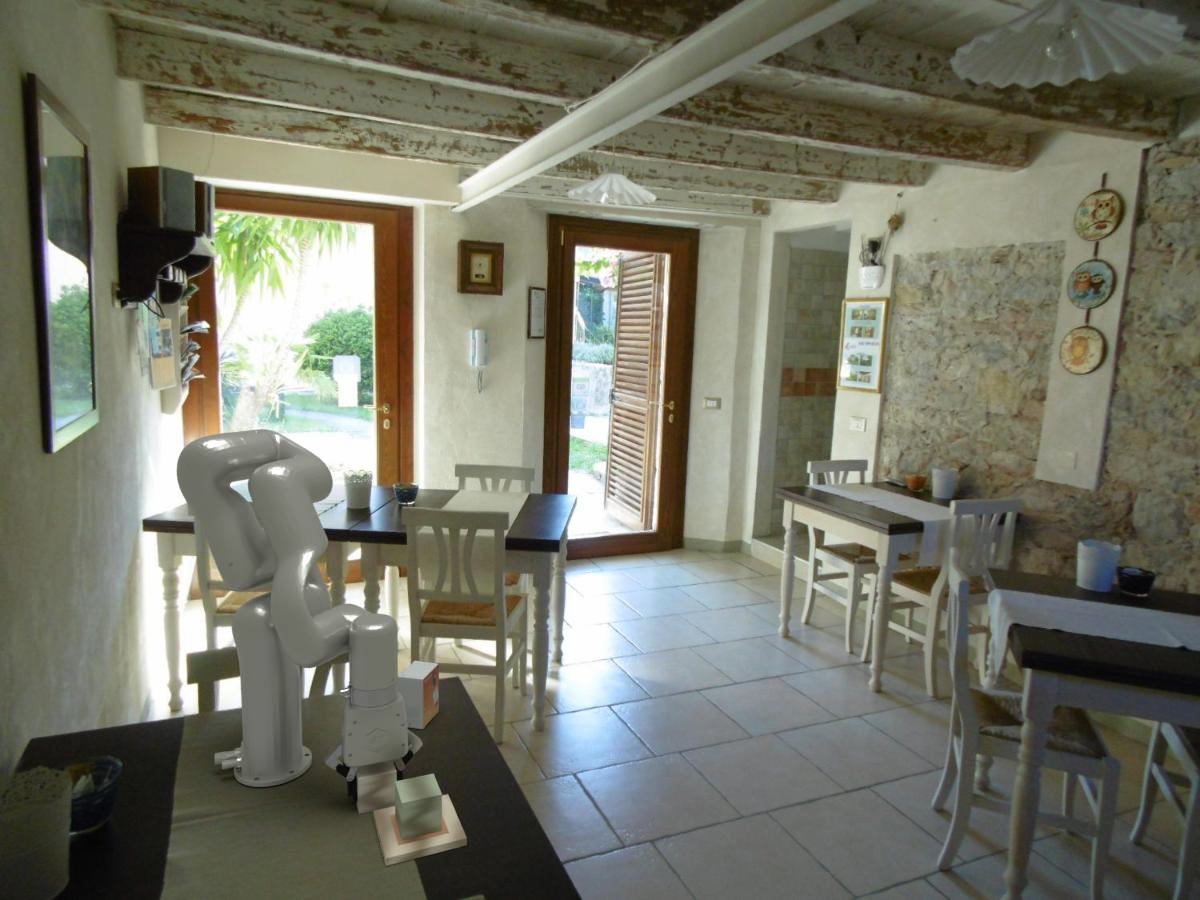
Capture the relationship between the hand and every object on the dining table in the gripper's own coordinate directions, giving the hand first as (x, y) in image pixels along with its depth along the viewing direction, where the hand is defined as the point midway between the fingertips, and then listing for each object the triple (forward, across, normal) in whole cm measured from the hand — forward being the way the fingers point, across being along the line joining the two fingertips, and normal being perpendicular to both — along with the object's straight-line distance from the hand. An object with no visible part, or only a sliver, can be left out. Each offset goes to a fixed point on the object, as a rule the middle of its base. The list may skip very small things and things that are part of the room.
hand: (375, 792), depth 124 cm
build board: (+1, +5, -11) cm, 12 cm away
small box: (+1, +12, +24) cm, 27 cm away
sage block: (0, +5, -11) cm, 12 cm away
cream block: (+1, 0, 0) cm, 1 cm away
